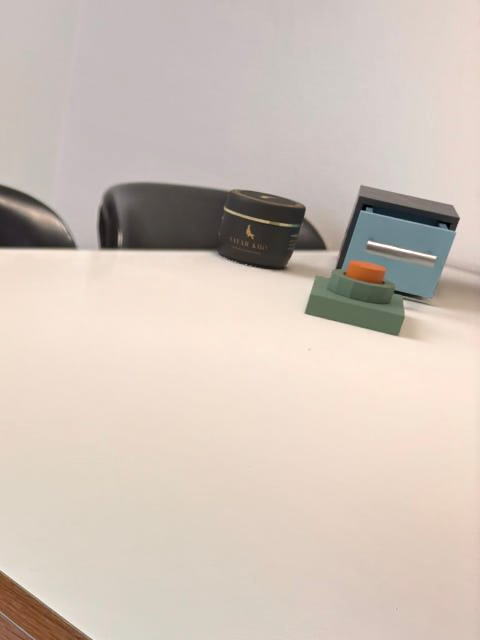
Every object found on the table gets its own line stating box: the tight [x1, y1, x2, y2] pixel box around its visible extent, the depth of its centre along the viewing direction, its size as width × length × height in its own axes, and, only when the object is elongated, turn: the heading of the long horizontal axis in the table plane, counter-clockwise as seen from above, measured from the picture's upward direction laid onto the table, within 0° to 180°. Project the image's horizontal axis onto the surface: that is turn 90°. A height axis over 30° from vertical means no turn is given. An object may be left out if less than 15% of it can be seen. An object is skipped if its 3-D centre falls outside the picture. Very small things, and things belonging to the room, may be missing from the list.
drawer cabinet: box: [334, 184, 461, 269], centre depth 143 cm, size 15×13×10 cm
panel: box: [304, 268, 406, 337], centre depth 118 cm, size 12×10×4 cm
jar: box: [216, 188, 307, 270], centre depth 135 cm, size 10×10×8 cm
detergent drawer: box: [342, 204, 457, 300], centre depth 133 cm, size 20×11×8 cm, turn 162°
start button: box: [346, 260, 386, 284], centre depth 117 cm, size 4×4×2 cm
